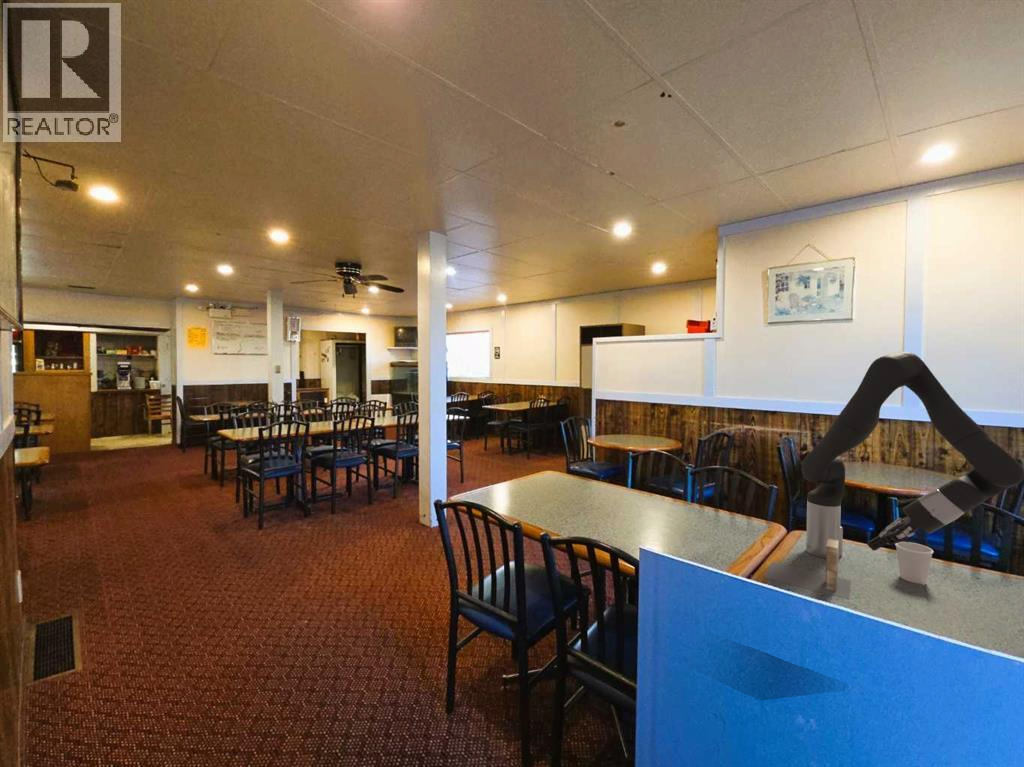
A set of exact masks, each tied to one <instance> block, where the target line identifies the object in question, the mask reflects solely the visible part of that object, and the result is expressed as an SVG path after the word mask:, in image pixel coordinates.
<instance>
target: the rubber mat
mask: <svg viewBox="0 0 1024 767" xmlns="http://www.w3.org/2000/svg"><path fill="white" fill-rule="evenodd" d="M763 578H764V579H770V580H773V581H776V582H781V583H784V584H788V585H792V586H795V587H800V588H803V589H807V590H811V591H813V592H818V593H822V594H826V595H830V596H834V597H838V598H841V599H845V600H850V592H851V582H852V580H851V579H846V578H842V577H839V576H838V584H837V590H836V591H834V590H830V589H827V588H825V578H826V573H821V572H817V571H813V570H809V569H804V568H801V567H797V566H792V565H788V564H784V563H779V562H775V561H771V563H770V565H769V566H768V568H767V571H766V572H765V573H764V576H763Z"/></svg>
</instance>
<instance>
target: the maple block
mask: <svg viewBox="0 0 1024 767" xmlns="http://www.w3.org/2000/svg"><path fill="white" fill-rule="evenodd" d="M838 556H839V541H838V540H833V539H828V542H827V545H826V558H825V574H826V578H825V588H827V589H830V590H834V591H836V590H837V584H838V577H839V558H838Z"/></svg>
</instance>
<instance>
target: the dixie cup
mask: <svg viewBox="0 0 1024 767" xmlns="http://www.w3.org/2000/svg"><path fill="white" fill-rule="evenodd" d="M894 545H895V547H896V554H897V562H898V563H897V564H898V569H899V570H898V571H899V577H900V578H901V579H903V580H904V581H907V582H910V583H913V584H920V585H921V584H922V585H923V586H926V585H927V581H928V577H929V576H928V575H929V573H930V567H931V562H932V557H933V554H934V550H933V549H932V548H931V547H928V546H926V545H924V544H920V543H916V542H910V541H902V542H899V543H896V544H894ZM925 584H926V585H925Z"/></svg>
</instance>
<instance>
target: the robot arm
mask: <svg viewBox="0 0 1024 767" xmlns="http://www.w3.org/2000/svg"><path fill="white" fill-rule="evenodd" d="M904 386H905V387H906V388H908V389H909V390H910V391H912V393H914V394H915V395H916V396H917V397H918V398H919V399H920V402H921V403H922V404H923V406H924V408H925V410H926V413H927V416H928V417H929V420H930V422H931V424H932V426H933V427H934V428H935V430H936V431H937V433H939V434H940V435H941V436H942V437H943V439H945V441H947V442H948V444H950V445H951V446H952V448H954V449H955V451H957V452H958V453H959V454H961V455H962V456H963V457H964V458H965V459H966V460H967V462H968V463H969V464H970V465H971V466H972V467H973V469H971V470H970V471H968V472H966V473H965V474H964V475H962V476H959V477H957V478H954V479H952V480H950V481H948V482H947V483H945V484H943V485H942V486H940V487H938V488H936V489H935V490H934V489H933V490H932V491H930V492H928V493H926V494H924V495H923V496H920V497H919V498H917V499H916V500H914V501H912V502H911V503H909V504H907V505H906V506H904V507H903V508H902V511H903V513H904V514H905V515H906V516H905V517H903V518H902V517H899V518H895V519H894V520H893V521H892V522H891V523H890V524H888V525H887V526H886V527H885V528H883V529H882V530H881V531H880V533H879V534H878V535H877V536H875V537H874V538H872V539H871V540H869V541H867V546H868V548H870V549H871V550H872V551H874V552H875V551H877V550H878V549H881V548H882V547H884V546H886V545H889V546H893V545H895V544H896V543H899V542H906V541H907V540H909V538H910V537H912V536H915V535H916V531H918V530H919V529H921V530H922V531H923V532H924V533H927V534H933V533H934V532H935V531H937V530H939V529H941V528H943V527H945V526H946V525H948V524H950V523H953V522H954V521H956V520H958V519H959V518H960V517H961V516H963V515H964V514H966V513H968V512H970V511H971V510H973V509H975V508H977V507H978V506H980V505H981V504H983V503H985V501H987V500H988V499H991V498H992V497H994V496H997V495H999V494H1000V493H1003V492H1004V491H1006V490H1008V489H1010V488H1012V487H1014V486H1017V485H1019V484H1020V483H1021V482H1023V480H1024V468H1023V466H1022V465H1021V463H1020V462H1018V461H1017V459H1015V458H1014V457H1013V456H1012V455H1011V454H1009V453H1008V452H1007V451H1006V450H1004V448H1002V447H1001V446H1000V445H999V444H998V443H996V442H995V441H994V440H993V439H992V438H991V436H990V435H989V434H988V433H987V432H986V431H985V429H983V428H982V427H981V426H980V425H979V424H978V423H977V422H975V420H973V418H972V417H970V416H969V415H968V414H967V413H966V411H964V410H963V409H962V408H961V407H960V406H959V404H957V402H956V401H955V400H954V399H953V398H952V397H951V395H950V394H949V393H948V392H947V390H946V389H945V387H943V385H942V384H941V382H940V381H939V380H938V379H937V377H936V376H935V375H934V374H933V372H932V371H931V369H930V368H929V367H928V366H927V364H926V363H925V362H924V360H923V359H921V357H920V356H918V355H917V354H915V353H913V352H909V351H898V352H895V353H894V352H893V353H891V354H886V355H883V356H880V357H877V358H876V359H875V360H874V361H873V362H872V363H871V364H870V365H869V367H868V369H867V370H866V372H865V375H864V377H862V380H861V381H860V384H859V386H858V388H857V390H856V391H855V393H854V394H853V395H852V396H851V398H850V400H848V402H847V404H846V405H845V406H844V407H843V409H842V410H841V411H840V413H839V414H838V416H837V417H836V419H834V421H833V423H832V424H831V427H830V428H829V429H828V430H827V432H826V433H825V434H824V435H823V437H822V438H821V440H819V442H818V443H817V445H816V446H814V448H813V449H812V450H811V451H810V452H809V453H808V454H807V455H806V456H805V458H804V459H803V461H802V464H801V469H800V471H801V474H802V477H803V479H805V480H807V481H808V482H810V483H815V484H819V486H817V487H816V488H814V489H812V490H809V492H808V493H807V494H806V495H807V496H806V497H807V498H806V499H807V501H806V503H807V504H806V537H805V538H806V539H805V540H806V546H805V550H806V552H807V553H808V554H810V555H813V556H816V557H819V558H823V559H826V545H827V542H828V539H833V540H838V541H839V556H838V559H839V558H840V557H843V541H844V539H843V538H844V537H843V535H844V534H843V533H844V529H843V527H842V526H841V510H842V509H841V505H842V499H843V498H844V494H845V486H846V485H845V484H846V483H845V482H846V466H845V463H844V461H843V460H842V459H841V458H840V456H841V455H843V454H844V453H847V452H849V451H850V450H852V449H855V448H856V447H858V446H859V445H861V444H862V443H864V442H865V441H866V439H868V438H869V436H870V435H871V434H872V432H873V431H874V430H875V429H876V427H877V425H878V423H879V421H880V420H879V419H880V415H881V414H880V413H881V407H882V406H883V404H884V403H885V402H886V401H887V399H888V398H889V397H890V396H891V395H892V394H893V393H894V392H895V391H896V390H898V389H899V388H901V387H904Z"/></svg>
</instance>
